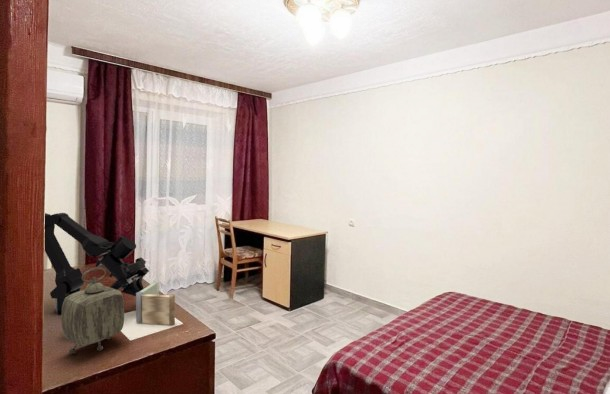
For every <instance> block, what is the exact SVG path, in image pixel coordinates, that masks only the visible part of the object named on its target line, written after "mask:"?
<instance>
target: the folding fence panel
mask: <svg viewBox="0 0 610 394" xmlns="http://www.w3.org/2000/svg"><path fill="white" fill-rule="evenodd" d="M159 284H160V282H159V281H157V280H156V281H153V282H152V283H150V284H149V285H147V286H146V287H143V288H144V289H143V290H141V291H140V292H137V293H136V296H135V310H136V322H137V323H140V322H142V298H141V296H142V295H143V294H153V295H160V291H159V287H160V285H159Z"/></svg>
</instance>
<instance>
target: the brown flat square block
mask: <svg viewBox="0 0 610 394" xmlns="http://www.w3.org/2000/svg"><path fill="white" fill-rule="evenodd" d="M141 298H142V323H144V324H161V325H171V326H173V325H175V318H176V307H175V306H176V300H175V299H176V295H175V294H170V295H169V294H168V295H167V294H159V295H153V294H143V295H142V296H141Z"/></svg>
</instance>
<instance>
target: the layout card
mask: <svg viewBox="0 0 610 394" xmlns="http://www.w3.org/2000/svg"><path fill="white" fill-rule="evenodd" d="M181 325H184V323H183V322H182V321H180V320H179V319H178V318H176V317H175V325H173V326H171V325H161V324H144V323H142V322H140V323H137V322H136V309H135V310H132V311H129V312H124V324H123V328H122V330H121V331H120V332H121V333H122V334H123V335H124V336H125V337H126V338H127V339H128V340H129V341H133V340H137V339H140V338H143V337H146V336H149V335H153V334H156V333H159V332H162V331H166V330H168V329H171V328H174V327H177V326H181Z"/></svg>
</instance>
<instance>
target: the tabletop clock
mask: <svg viewBox="0 0 610 394" xmlns="http://www.w3.org/2000/svg"><path fill="white" fill-rule="evenodd" d="M97 270H101V271H103V272H104V274H103V275H102V276H100V277H99V278H97V277H96V276H94V277H92V279H91V280H86V279H85V275H87V274H88V273H89V272H92V271H97ZM106 276H107V269H106V268H105V267H100V266H98V267H96V266H95V267H93V268H92V267H91V268H90V269H87V270H86V271H84V272H83V274H82V280H83V281H84V283H87V285H86V287H85V289H82V290H80V291H79V292H76V293H73V294H71V295H69V296H68V297H66V298H65V299H64V302H63V305H62V314H60V315H61V316H60V317H61V318H60V320H61V331H62V334H63V336H64V338H65V340H67V341H70V342H71V343H73V344H74V346H73V348H70V349H69V351H68V354H70V355H73V354H75V353H76V351H77V348H78V346H79V347H85V346H89V345H92V344H95V343H97V345H98V346H97V347H96V350H97V351H98V352H102V351H103V349H104V346H103V345H101V341H103V340H105V339H106V340H111V339H112V336H114V335H116V334H119V333H120V332H121V330H122V328H123V324H124V313H125V300H124V296H123V293H121V291H122V290H120V289H119V290H116V289H113V288H110V287H109V286H106V285H104V284H103V283H102V282H99V281H101V280H103V279H104V278H105V277H106Z"/></svg>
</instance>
